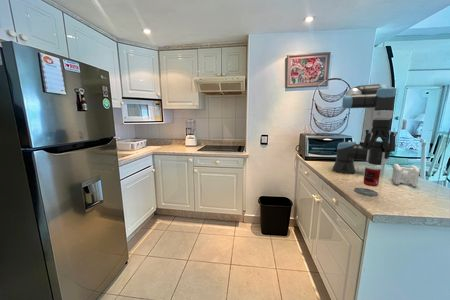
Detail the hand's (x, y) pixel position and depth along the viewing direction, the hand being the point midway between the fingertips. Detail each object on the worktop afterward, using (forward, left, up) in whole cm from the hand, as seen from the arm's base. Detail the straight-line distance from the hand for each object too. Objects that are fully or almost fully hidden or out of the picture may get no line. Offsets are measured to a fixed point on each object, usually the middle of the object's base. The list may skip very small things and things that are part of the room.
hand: (375, 162), depth 101 cm
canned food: (-12, +16, -18) cm, 27 cm away
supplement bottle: (0, 0, -1) cm, 1 cm away
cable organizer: (-7, +37, -18) cm, 42 cm away
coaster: (-3, 0, -18) cm, 18 cm away
